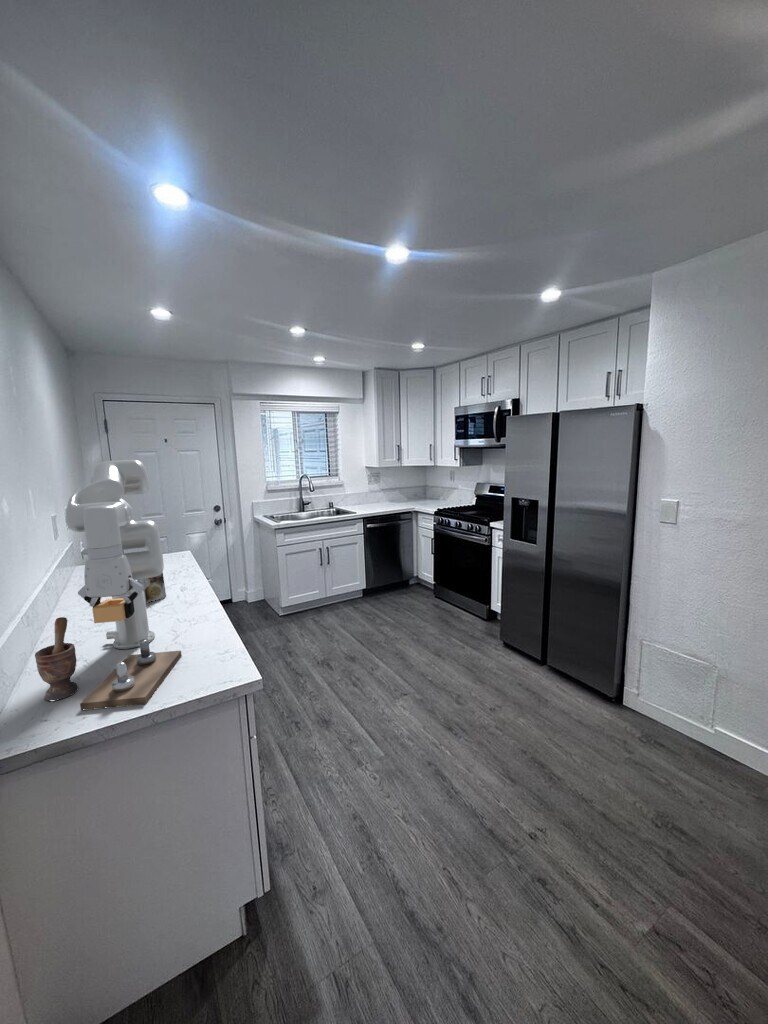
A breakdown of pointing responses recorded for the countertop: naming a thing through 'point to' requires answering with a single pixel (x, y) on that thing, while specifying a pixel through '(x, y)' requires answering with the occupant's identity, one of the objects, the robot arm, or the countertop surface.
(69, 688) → the mortar and pestle
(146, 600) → the coffee box
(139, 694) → the board
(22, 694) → the countertop surface
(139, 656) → the shiny metal knob
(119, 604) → the collar
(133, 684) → the silver round flared piece
